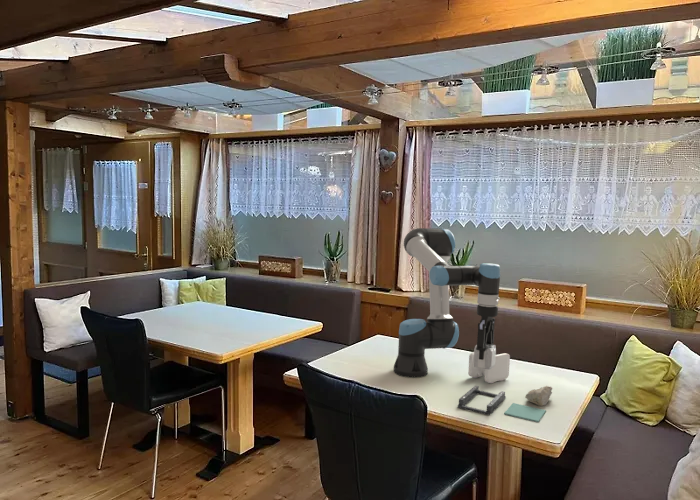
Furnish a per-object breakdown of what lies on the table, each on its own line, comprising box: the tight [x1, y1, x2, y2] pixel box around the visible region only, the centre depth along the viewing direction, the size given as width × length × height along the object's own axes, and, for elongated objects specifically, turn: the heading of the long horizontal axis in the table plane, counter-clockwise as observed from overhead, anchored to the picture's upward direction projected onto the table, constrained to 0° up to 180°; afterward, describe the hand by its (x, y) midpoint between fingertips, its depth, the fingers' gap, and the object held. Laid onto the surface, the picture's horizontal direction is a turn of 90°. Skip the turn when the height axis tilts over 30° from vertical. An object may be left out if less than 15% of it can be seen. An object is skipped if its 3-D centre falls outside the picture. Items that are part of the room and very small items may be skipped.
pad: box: [503, 402, 547, 423], centre depth 192 cm, size 12×12×1 cm
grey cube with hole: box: [473, 344, 497, 370], centre depth 199 cm, size 7×6×8 cm
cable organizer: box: [468, 351, 511, 384], centre depth 229 cm, size 15×11×12 cm
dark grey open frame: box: [457, 385, 507, 416], centre depth 201 cm, size 12×20×3 cm, turn 148°
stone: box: [524, 385, 553, 407], centre depth 204 cm, size 8×12×10 cm, turn 135°
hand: (484, 365), depth 199 cm, fingers closed on grey cube with hole, 6 cm apart
